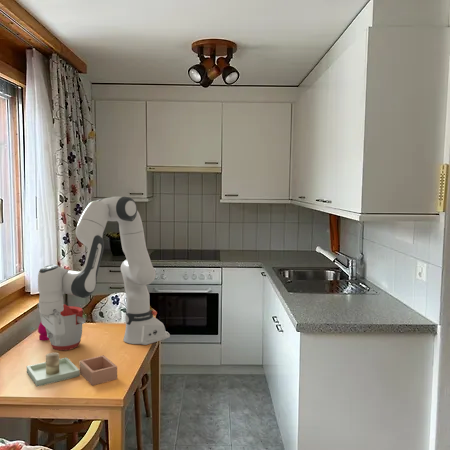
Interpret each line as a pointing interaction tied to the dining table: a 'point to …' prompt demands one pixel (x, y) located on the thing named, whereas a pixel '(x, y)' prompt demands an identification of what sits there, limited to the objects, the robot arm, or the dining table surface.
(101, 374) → the open square frame
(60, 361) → the tray
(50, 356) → the beech cylinder
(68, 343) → the citrus juicer
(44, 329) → the pepper mill
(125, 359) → the dining table surface
